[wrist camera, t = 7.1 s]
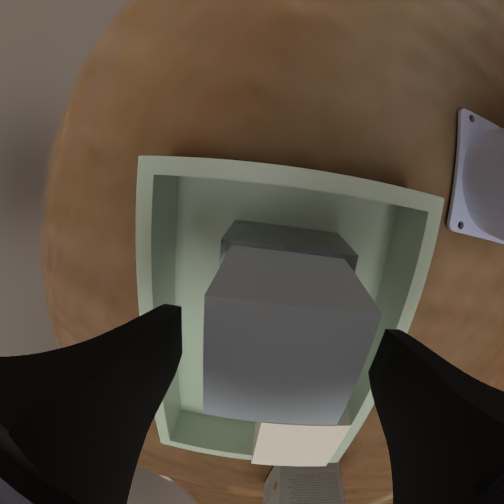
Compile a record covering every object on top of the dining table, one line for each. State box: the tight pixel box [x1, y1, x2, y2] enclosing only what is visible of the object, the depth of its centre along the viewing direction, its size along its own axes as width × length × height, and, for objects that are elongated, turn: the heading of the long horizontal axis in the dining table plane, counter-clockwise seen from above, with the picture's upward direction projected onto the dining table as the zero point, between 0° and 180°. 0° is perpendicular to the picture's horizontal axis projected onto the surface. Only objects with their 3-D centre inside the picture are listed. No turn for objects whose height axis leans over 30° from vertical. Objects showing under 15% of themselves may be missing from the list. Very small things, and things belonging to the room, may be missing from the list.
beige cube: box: [251, 405, 351, 466], centre depth 16 cm, size 5×5×5 cm
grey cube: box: [203, 245, 382, 425], centre depth 9 cm, size 4×4×4 cm
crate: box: [136, 156, 445, 463], centre depth 15 cm, size 14×20×4 cm
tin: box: [219, 220, 359, 273], centre depth 13 cm, size 6×6×4 cm
